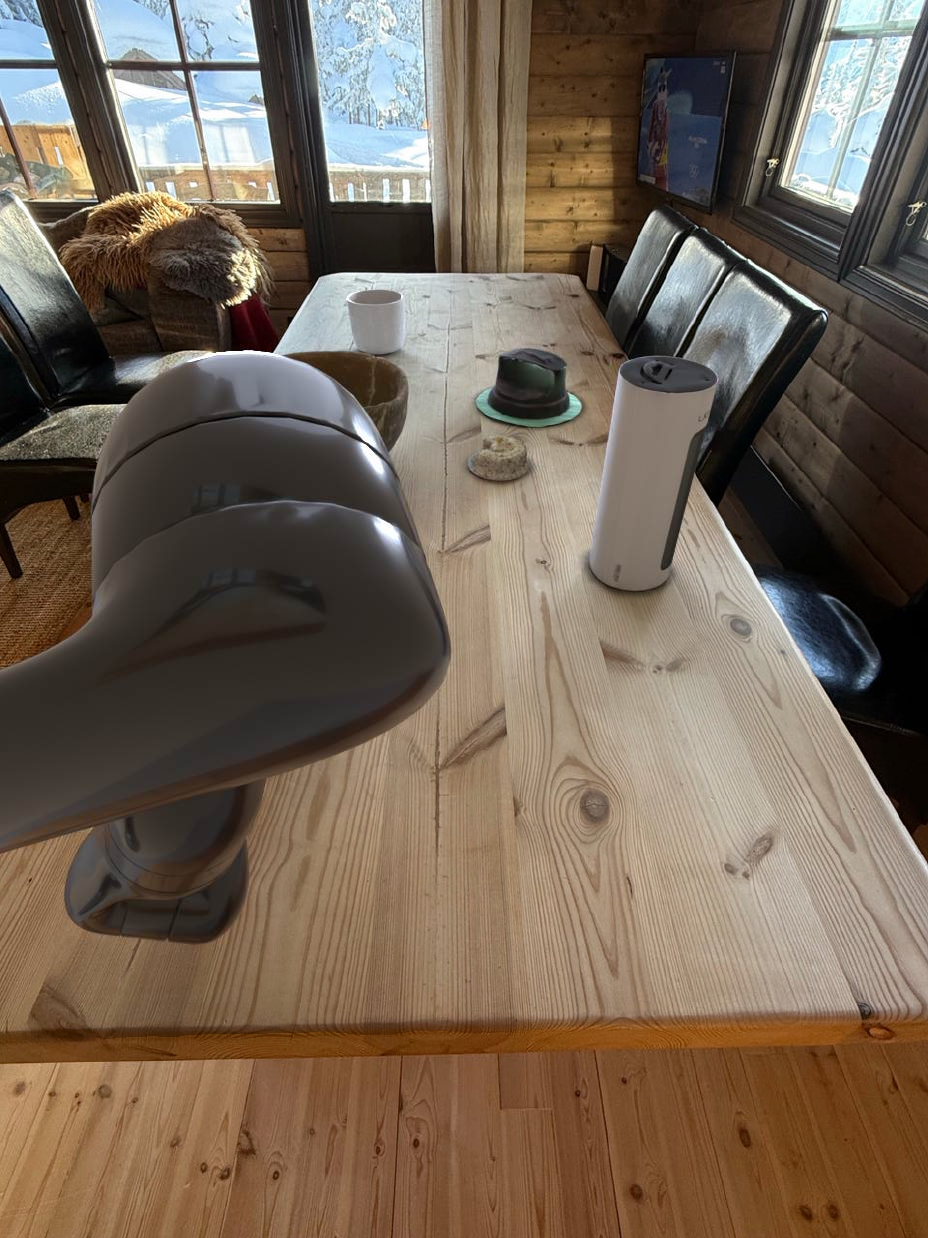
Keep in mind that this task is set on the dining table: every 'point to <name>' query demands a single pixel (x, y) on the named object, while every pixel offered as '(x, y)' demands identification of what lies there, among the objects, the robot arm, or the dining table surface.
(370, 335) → the planter
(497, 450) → the cake
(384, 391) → the bowl
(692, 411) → the speaker
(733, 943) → the dining table surface
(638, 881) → the dining table surface
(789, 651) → the dining table surface
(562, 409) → the fedora hat
